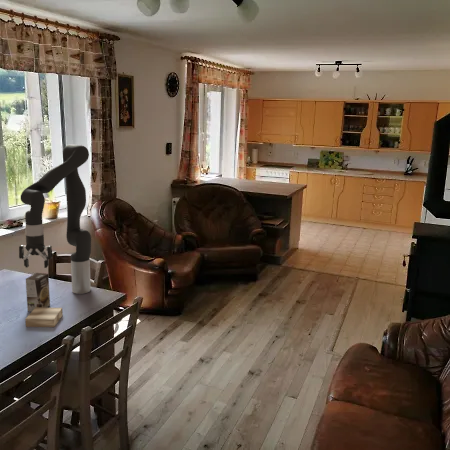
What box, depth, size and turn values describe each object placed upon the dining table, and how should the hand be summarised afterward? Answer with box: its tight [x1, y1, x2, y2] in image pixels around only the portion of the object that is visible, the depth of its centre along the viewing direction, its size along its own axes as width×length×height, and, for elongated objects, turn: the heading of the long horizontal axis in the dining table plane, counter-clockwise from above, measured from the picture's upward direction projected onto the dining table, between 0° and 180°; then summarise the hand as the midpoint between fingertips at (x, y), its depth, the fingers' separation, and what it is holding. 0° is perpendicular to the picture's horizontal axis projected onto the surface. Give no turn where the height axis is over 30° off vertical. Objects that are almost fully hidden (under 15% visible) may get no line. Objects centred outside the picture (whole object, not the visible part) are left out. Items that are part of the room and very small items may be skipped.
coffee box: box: [25, 272, 51, 312], centre depth 210 cm, size 9×6×16 cm
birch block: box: [25, 307, 64, 328], centre depth 199 cm, size 12×12×4 cm
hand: (36, 267), depth 207 cm, fingers open, 8 cm apart
